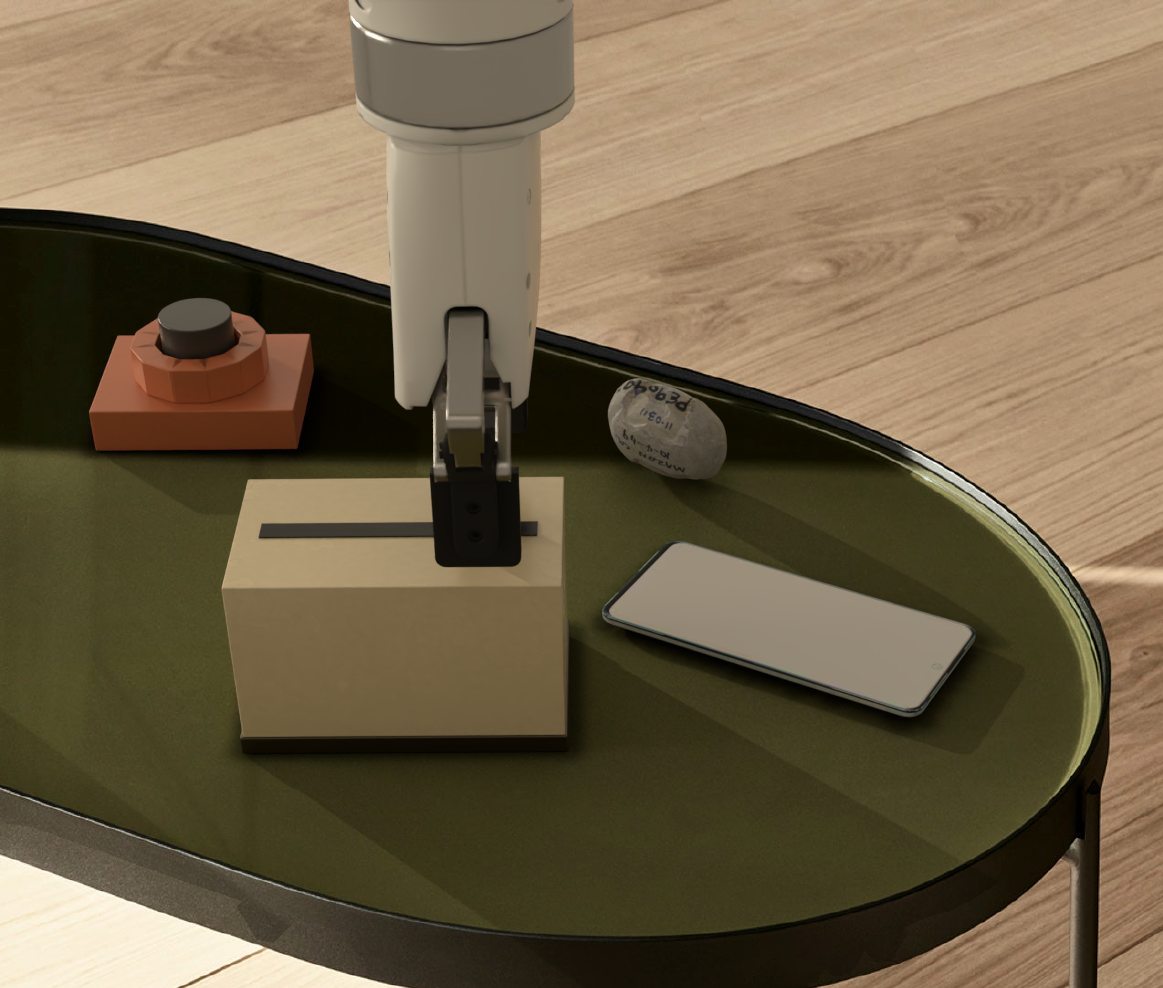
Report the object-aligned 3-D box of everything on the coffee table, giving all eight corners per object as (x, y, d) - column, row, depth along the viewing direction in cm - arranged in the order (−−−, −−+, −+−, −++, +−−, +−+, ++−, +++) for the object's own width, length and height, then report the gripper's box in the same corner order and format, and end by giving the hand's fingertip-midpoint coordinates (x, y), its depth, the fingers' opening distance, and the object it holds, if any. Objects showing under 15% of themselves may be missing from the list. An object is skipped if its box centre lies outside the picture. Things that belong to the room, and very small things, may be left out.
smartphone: (671, 537, 96) (980, 628, 90) (670, 547, 97) (979, 638, 91) (596, 613, 92) (917, 714, 86) (596, 623, 92) (916, 725, 86)
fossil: (740, 480, 101) (743, 387, 98) (705, 513, 99) (708, 419, 96) (624, 446, 104) (624, 355, 101) (589, 477, 102) (587, 385, 98)
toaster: (242, 754, 85) (217, 588, 80) (266, 636, 92) (245, 476, 87) (567, 751, 85) (564, 585, 80) (569, 634, 92) (566, 473, 86)
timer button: (157, 363, 104) (152, 331, 102) (168, 329, 106) (163, 297, 105) (230, 363, 103) (225, 330, 102) (239, 329, 106) (235, 297, 105)
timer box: (95, 451, 104) (82, 379, 102) (123, 373, 110) (111, 303, 108) (297, 449, 104) (289, 377, 101) (314, 371, 110) (306, 301, 108)
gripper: (374, -25, 78) (404, 386, 89) (328, 165, 65) (370, 622, 76) (576, -27, 78) (581, 385, 89) (572, 163, 65) (578, 620, 76)
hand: (484, 493), depth 82 cm, fingers open, 9 cm apart
